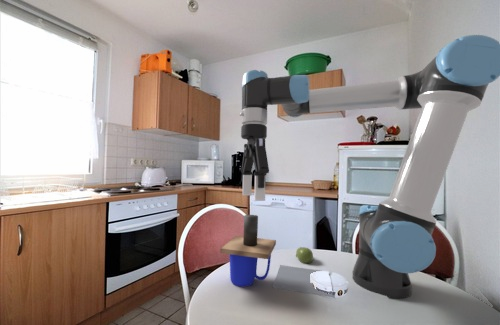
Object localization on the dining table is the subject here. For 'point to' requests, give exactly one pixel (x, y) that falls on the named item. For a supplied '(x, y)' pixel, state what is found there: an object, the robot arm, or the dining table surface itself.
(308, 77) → the robot arm
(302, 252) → the pear
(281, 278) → the mat
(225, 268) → the dining table surface
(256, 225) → the lid
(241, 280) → the mug
